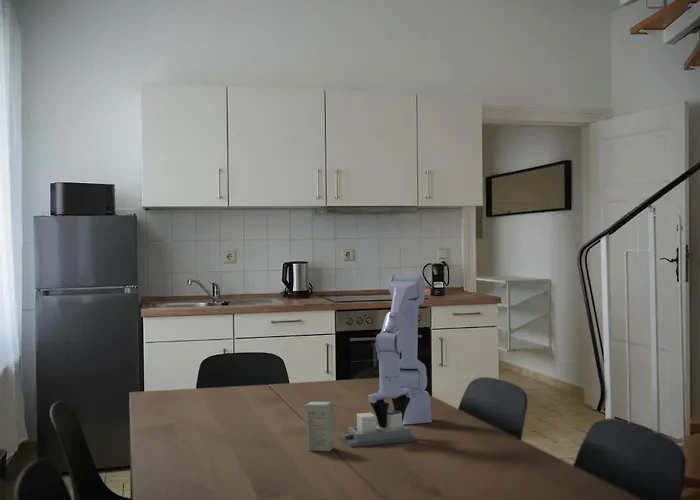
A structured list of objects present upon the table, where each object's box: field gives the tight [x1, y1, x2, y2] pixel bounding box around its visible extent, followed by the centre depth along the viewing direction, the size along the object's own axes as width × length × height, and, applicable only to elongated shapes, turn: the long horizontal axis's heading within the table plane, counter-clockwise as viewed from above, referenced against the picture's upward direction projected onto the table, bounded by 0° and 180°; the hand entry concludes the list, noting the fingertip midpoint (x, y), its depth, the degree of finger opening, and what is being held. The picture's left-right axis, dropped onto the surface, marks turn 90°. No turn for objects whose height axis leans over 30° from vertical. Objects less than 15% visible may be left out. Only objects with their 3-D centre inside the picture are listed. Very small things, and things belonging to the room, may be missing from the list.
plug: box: [379, 408, 402, 431], centre depth 208 cm, size 4×5×6 cm
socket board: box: [340, 412, 416, 448], centre depth 207 cm, size 18×10×7 cm, turn 106°
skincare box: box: [304, 401, 335, 452], centre depth 199 cm, size 6×4×12 cm
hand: (390, 425), depth 208 cm, fingers open, 6 cm apart
